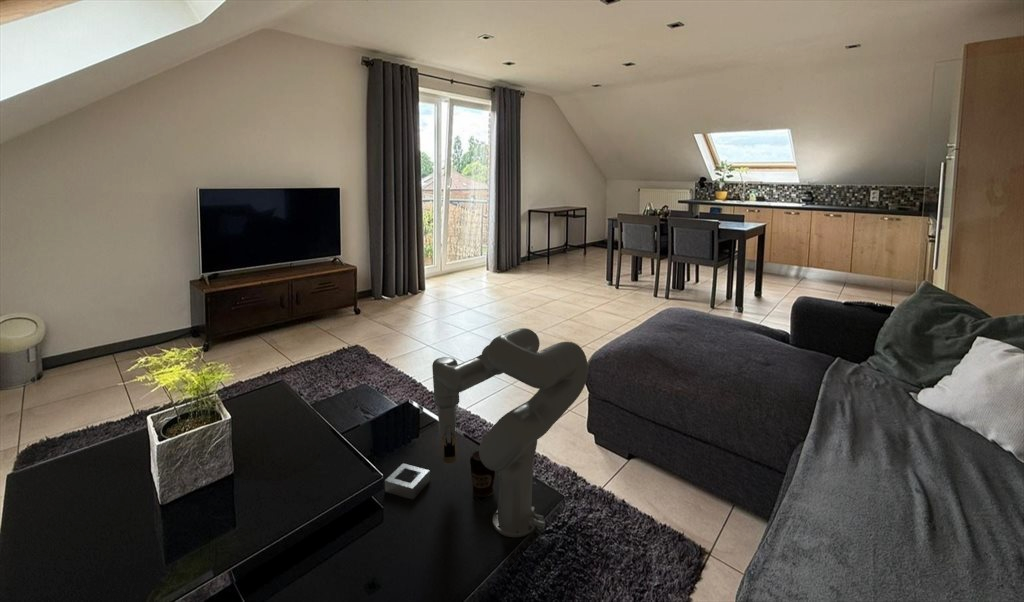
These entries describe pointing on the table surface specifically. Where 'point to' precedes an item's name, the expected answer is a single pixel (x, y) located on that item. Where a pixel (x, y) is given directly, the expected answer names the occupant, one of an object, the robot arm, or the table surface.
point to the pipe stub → (453, 459)
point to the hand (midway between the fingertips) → (449, 451)
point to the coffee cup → (481, 477)
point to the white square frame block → (407, 481)
